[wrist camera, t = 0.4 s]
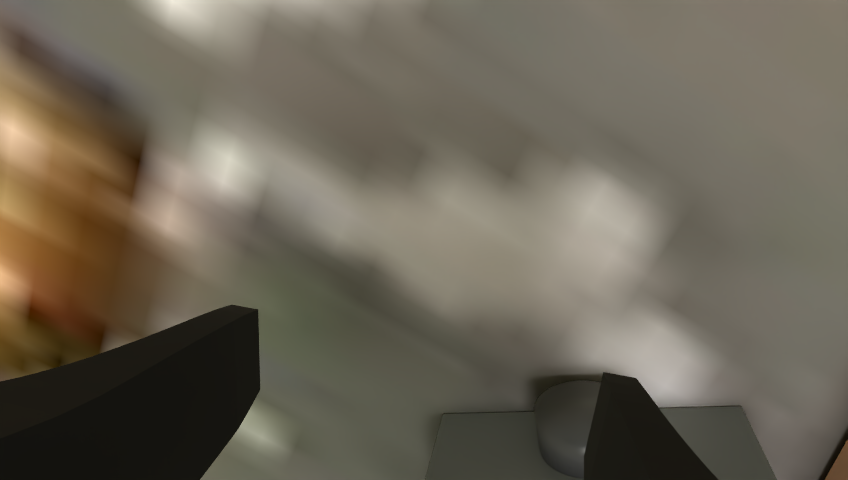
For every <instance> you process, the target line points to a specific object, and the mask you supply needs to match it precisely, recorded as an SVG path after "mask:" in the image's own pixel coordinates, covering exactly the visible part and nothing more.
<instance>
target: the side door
mask: <svg viewBox="0 0 848 480" xmlns="http://www.w3.org/2000/svg"><path fill="white" fill-rule="evenodd" d="M825 480H848V440H847V441H846V443H845V445H844V447H843V448H842V450H841V452H840V454H839V455H838V457H837V459H836V461H835V463H834V464H833V466H832V468H831V470H830V471H829V473H828V475H827V477H826V478H825Z"/></svg>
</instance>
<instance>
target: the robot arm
mask: <svg viewBox="0 0 848 480" xmlns="http://www.w3.org/2000/svg"><path fill="white" fill-rule="evenodd" d="M259 391H260V365H259V327H258V309H252V308H247V307H241V306H236V305H230V306H226V307H223V308H220V309H217V310H214V311H211V312H208V313H206V314H203V315H201V316H198V317H195V318H193V319H190V320H188V321H185V322H183V323H180V324H178V325H175V326H173V327H170V328H168V329H165V330H163V331H160V332H158V333H155V334H153V335H150V336H148V337H145V338H143V339H140V340H137V341H134V342H132V343H129V344H126V345H123V346H120V347H118V348H115V349H112V350H109V351H107V352H104V353H101V354H98V355H95V356H93V357H90V358H86V359H83V360H80V361H77V362H74V363H71V364H67V365H64V366H60V367H57V368H53V369H50V370H46V371H42V372H39V373H35V374H31V375H27V376H23V377H19V378H15V379H10V380H5V381H1V382H0V480H200V479H201V477H202V476H203V475H204V473H205V472H206V471H207V470H208V468H209V467H210V466H211V464H212V463H213V462H214V460H215V459H216V458H217V457H218V455H219V454H220V453H221V451H222V450H223V449H224V447H225V446H226V445H227V443H228V442H229V441H230V439H231V438H232V437H233V435H234V434H235V432H236V431H237V430H238V428H239V426H240V425H241V423H242V421H243V420H244V418H245V416H246V415H247V413H248V411H249V409H250V407H251V406H252V404H253V402H254V400H255V398H256V396H257V394H258V393H259ZM584 480H718V478H717V477H716V476H715V475H714V474H713V473H712V472H711V471H710V470H709V469H708V468H707V467H706V465H705V464H704V463H703V462H702V461H701V460H700V459H699V457H698V456H697V455H696V454H695V453H694V452H693V450H692V449H691V448H690V447H689V446H688V444H687V443H686V442H685V441H684V440H683V438H682V437H681V436H680V435H679V433H678V432H677V431H676V430H675V428H674V427H673V426H672V425H671V423H670V422H669V421H668V419H667V418H666V417H665V416H664V414H663V413H662V412H661V410H660V409H659V408H658V406H657V405H656V404H655V402H654V401H653V400H652V398H651V397H650V396H649V394H648V393H647V392H646V390H645V389H644V388H643V386H642V385H641V384H640V383H639V381H638V380H637V379H636V378H632V377H627V376H621V375H616V374H610V373H605V372H603V376H602V381H601V385H600V389H599V394H598V398H597V402H596V406H595V411H594V415H593V419H592V423H591V428H590V432H589V436H588V441H587V445H586V449H585V453H584Z"/></svg>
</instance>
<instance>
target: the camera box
mask: <svg viewBox="0 0 848 480" xmlns="http://www.w3.org/2000/svg"><path fill="white" fill-rule="evenodd" d="M600 385H601V383H600V382H595V381H586V380H579V381H570V382H565V383H561V384H558V385H555V386H553V387H551V388H549V389H547V390H546V391H544V392H543V393H542V394H541V395H540V396H539V397H538V399H537V400H536V402H535V406H534V412H499V413H461V414H443V416H442V419H441V423H440V427H439V430H438V434H437V438H436V441H435V445H434V449H433V452H432V456H431V460H430V463H429V467H428V470H427V474H426V478H425V480H584V453H585V449H586V445H587V441H588V436H589V432H590V428H591V423H592V419H593V415H594V411H595V406H596V402H597V398H598V394H599V389H600ZM659 409H660V410H661V412H662V413H663V414H664V416H665V417H666V418H667V419H668V421H669V422H670V423H671V425H672V426H673V427H674V428H675V430H676V431H677V432H678V433H679V435H680V436H681V437H682V438H683V440H684V441H685V442H686V443H687V444H688V446H689V447H690V448H691V449H692V450H693V452H694V453H695V454H696V455H697V456H698V457H699V459H700V460H701V461H702V462H703V463H704V464H705V465H706V467H707V468H708V469H709V470H710V471H711V472H712V473H713V474H714V475H715V476H716V477H717V478H718V480H777V479H776V477H775V475H774V473H773V471H772V469H771V467H770V465H769V463H768V460H767V458H766V456H765V454H764V452H763V450H762V448H761V446H760V444H759V442H758V440H757V438H756V436H755V434H754V432H753V430H752V428H751V425H750V423H749V421H748V419H747V417H746V415H745V413H744V411H743V409H742V407H741V406H729V407H690V408H659Z"/></svg>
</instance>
